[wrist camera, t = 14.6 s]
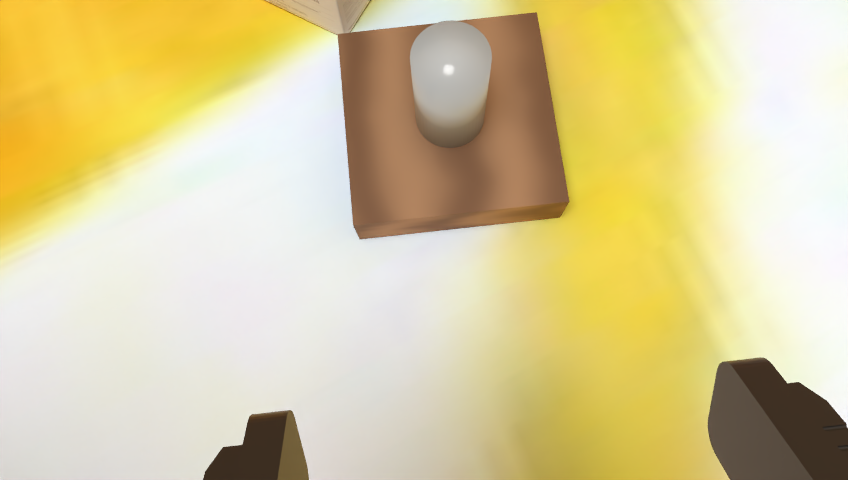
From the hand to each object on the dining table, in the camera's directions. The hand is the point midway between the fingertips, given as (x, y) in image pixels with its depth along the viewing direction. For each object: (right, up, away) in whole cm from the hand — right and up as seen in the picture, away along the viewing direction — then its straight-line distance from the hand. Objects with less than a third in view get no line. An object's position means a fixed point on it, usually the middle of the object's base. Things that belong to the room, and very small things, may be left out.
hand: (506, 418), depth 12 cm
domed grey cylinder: (0, +12, +32) cm, 34 cm away
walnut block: (0, +11, +35) cm, 37 cm away
